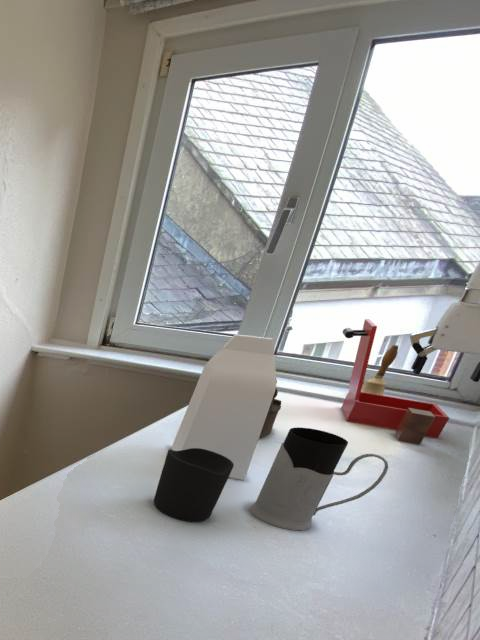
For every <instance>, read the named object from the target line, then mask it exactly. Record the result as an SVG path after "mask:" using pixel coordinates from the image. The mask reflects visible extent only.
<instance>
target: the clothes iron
mask: <svg viewBox="0 0 480 640" xmlns="http://www.w3.org/2000/svg"><path fill="white" fill-rule="evenodd" d="M277 383H278V380H277V379H276V385H277ZM278 392H279V391H278V389H277V387H276V390H275V393H274V396H273V399H272V402H271V405H270V407H269V410H268V413H267V416H266V419H265V422H264V425H263V428H262V431H261V433H260V436H259V439H260V438H264V437H267V436H269V435H270V434H271V432H272V431H273V426H274V424H275V421H276V419H277V416H278V413H279V412H280V411H281V409H282V400H280V399H278V398H277V396H278V394H279V393H278ZM276 398H277V399H276Z"/></svg>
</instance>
